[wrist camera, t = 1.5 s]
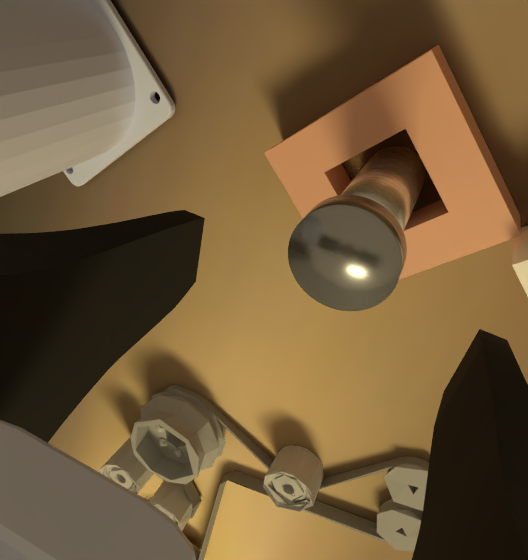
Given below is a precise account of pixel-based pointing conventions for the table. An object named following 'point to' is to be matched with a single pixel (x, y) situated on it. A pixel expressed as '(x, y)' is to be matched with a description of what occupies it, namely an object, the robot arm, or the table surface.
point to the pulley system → (277, 484)
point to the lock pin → (359, 234)
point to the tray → (521, 257)
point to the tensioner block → (431, 148)
